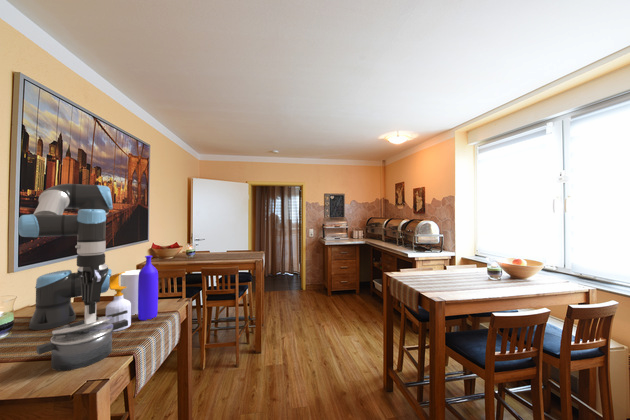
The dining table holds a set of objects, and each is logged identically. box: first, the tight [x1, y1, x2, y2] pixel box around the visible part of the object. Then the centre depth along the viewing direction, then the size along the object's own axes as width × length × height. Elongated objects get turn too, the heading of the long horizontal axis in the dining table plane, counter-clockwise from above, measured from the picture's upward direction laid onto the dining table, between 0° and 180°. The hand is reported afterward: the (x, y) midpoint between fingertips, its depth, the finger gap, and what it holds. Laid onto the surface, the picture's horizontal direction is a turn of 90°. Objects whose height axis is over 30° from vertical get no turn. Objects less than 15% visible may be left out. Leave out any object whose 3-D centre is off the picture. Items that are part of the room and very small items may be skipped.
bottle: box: [137, 255, 159, 321], centre depth 129 cm, size 8×8×30 cm
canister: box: [120, 268, 142, 316], centre depth 139 cm, size 14×14×20 cm
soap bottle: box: [105, 271, 132, 333], centre depth 118 cm, size 9×9×25 cm
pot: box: [36, 319, 128, 372], centre depth 94 cm, size 17×25×9 cm, turn 150°
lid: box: [51, 310, 128, 336], centre depth 96 cm, size 17×22×2 cm
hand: (90, 322), depth 91 cm, fingers closed
